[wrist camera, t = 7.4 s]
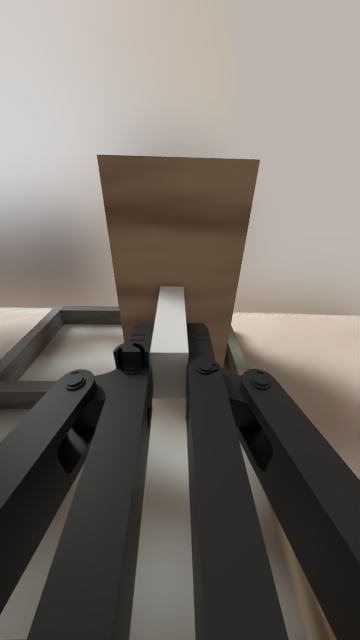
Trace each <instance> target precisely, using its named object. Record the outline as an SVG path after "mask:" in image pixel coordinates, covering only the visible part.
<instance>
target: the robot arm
mask: <svg viewBox="0 0 360 640" xmlns="http://www.w3.org/2000/svg"><path fill="white" fill-rule="evenodd" d="M113 355H114V360H115V365H116V369H115V370H113V371H111V372H108V373H105V374H101V375H97V376H94V375H93V373H92V372H91V371H89V370H86V369H78V370H74V371H71V372H69V373H67V374H65V375H64V376H62V377H61V378H60V379H59V380H58V381H57V382H56V383H55V384H54V385H53V386H52V387H51V388H50V390H49V391H48V392H47V393H46V394H45V395H44V396H43V397H42V398H41V399H40V400H39V401H38V402H37V403H36V405H35V406H34V407H33V408H32V409H31V410H30V411H29V412H28V413H27V414H26V415H25V416H24V417H23V418H22V419H21V421H20V422H19V423H18V424H17V425H16V426H15V427H14V428H13V429H12V430H11V431H10V432H9V433H8V434H7V436H6V437H5V438H4V439H3V440H2V441H1V442H0V615H1V613H2V611H3V609H4V607H5V606H6V604H7V602H8V600H9V598H10V597H11V595H12V593H13V591H14V589H15V588H16V586H17V584H18V582H19V580H20V579H21V577H22V575H23V573H24V571H25V570H26V568H27V566H28V564H29V562H30V561H31V559H32V557H33V555H34V553H35V551H36V550H37V548H38V546H39V544H40V542H41V541H42V539H43V537H44V535H45V533H46V532H47V530H48V528H49V526H50V524H51V523H52V521H53V519H54V517H55V515H56V514H57V512H58V510H59V508H60V506H61V505H62V503H63V501H64V499H65V497H66V495H67V494H68V492H69V490H70V488H71V486H72V485H73V483H74V481H75V479H76V477H77V476H78V474H79V472H80V470H81V468H82V467H83V465H84V467H83V470H82V473H81V476H80V479H79V482H78V485H77V488H76V491H75V494H74V497H73V500H72V503H71V506H70V509H69V512H68V515H67V518H66V521H65V524H64V527H63V530H62V533H61V536H60V540H59V543H58V546H57V549H56V552H55V555H54V558H53V561H52V564H51V567H50V570H49V573H48V576H47V579H46V582H45V585H44V588H43V591H42V594H41V597H40V600H39V603H38V606H37V609H36V612H35V615H34V619H33V622H32V625H31V628H30V631H29V634H28V637H27V640H129V636H130V626H131V616H132V607H133V597H134V587H135V577H136V567H137V557H138V548H139V538H140V528H141V518H142V508H143V498H144V488H145V479H146V469H147V459H148V449H149V439H150V429H151V420H152V397H153V398H166V399H186V414H185V420H186V427H187V450H188V474H189V498H190V521H191V545H192V569H193V593H194V616H195V640H289V639H288V635H287V631H286V627H285V622H284V618H283V614H282V610H281V606H280V602H279V598H278V594H277V590H276V586H275V582H274V578H273V574H272V570H271V566H270V562H269V558H268V554H267V550H266V546H265V542H264V538H263V534H262V530H261V526H260V522H259V518H258V514H257V510H256V506H255V502H254V498H253V494H252V490H251V486H250V482H249V478H248V474H247V470H246V466H245V462H244V458H243V454H242V450H241V446H240V443H241V445H242V447H243V449H244V451H245V453H246V455H247V458H248V460H249V462H250V464H251V466H252V468H253V470H254V472H255V474H256V476H257V478H258V480H259V482H260V484H261V486H262V488H263V490H264V492H265V494H266V496H267V498H268V500H269V502H270V504H271V507H272V509H273V511H274V513H275V515H276V517H277V519H278V521H279V523H280V525H281V527H282V529H283V531H284V533H285V535H286V537H287V539H288V541H289V543H290V545H291V547H292V549H293V551H294V553H295V556H296V558H297V560H298V562H299V564H300V566H301V568H302V570H303V572H304V574H305V576H306V578H307V580H308V582H309V584H310V586H311V588H312V590H313V592H314V594H315V596H316V598H317V600H318V602H319V605H320V607H321V609H322V611H323V613H324V615H325V617H326V619H327V621H328V623H329V625H330V627H331V629H332V631H333V633H334V635H335V637H336V639H337V640H360V480H359V479H358V478H357V476H356V475H355V474H354V473H353V472H352V470H351V469H350V468H349V467H348V466H347V464H346V463H345V462H344V461H343V460H342V458H341V457H340V456H339V455H338V454H337V452H336V451H335V450H334V449H333V448H332V446H331V445H330V444H329V443H328V442H327V440H326V439H325V438H324V437H323V436H322V434H321V433H320V432H319V431H318V430H317V428H316V427H315V426H314V425H313V424H312V422H311V421H310V420H309V419H308V418H307V416H306V415H305V414H304V413H303V412H302V410H301V409H300V408H299V407H298V406H297V404H296V403H295V402H294V401H293V400H292V399H291V397H290V396H289V395H288V394H287V393H286V391H285V390H284V389H283V388H282V387H281V385H280V384H279V383H278V382H277V381H276V379H275V378H274V377H273V376H271V375H270V374H269V373H267V372H265V371H262V370H258V369H250V370H247V371H245V372H244V373H243V374H242V375H238V374H234V373H230V372H227V371H225V370H224V369H222V368H221V367H220V365H219V363H217V362H216V360H215V356H214V352H213V347H212V343H211V339H210V334H209V330H208V328H207V327H206V326H205V325H204V323H186V313H185V300H184V288H183V287H175V286H160V292H159V298H158V305H157V311H156V317H155V323H138V324H137V325H136V326H135V327H134V328H133V330H132V333H131V337H130V341H129V342H125V343H123V344H120V345H119V346H117V347H116V348H115V350H114V351H113ZM239 441H240V442H239ZM84 463H85V464H84Z"/></svg>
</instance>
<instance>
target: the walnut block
mask: <svg viewBox="0 0 360 640" xmlns="http://www.w3.org/2000/svg"><path fill="white" fill-rule="evenodd" d="M97 159H98V166H99V173H100V179H101V186H102V193H103V199H104V207H105V213H106V221H107V227H108V234H109V241H110V248H111V255H112V262H113V269H114V276H115V282H116V290H117V296H118V303H119V310H120V317H121V324H122V331H123V338H124V343H125V342H129V341H130V337H131V333H132V330H133V328H134V327H135V326H136V325H137V324H138V323H155V317H156V311H157V305H158V298H159V292H160V286H175V287H183V288H184V300H185V313H186V323H204V325H205V326H206V327H207V328H208V330H209V334H210V339H211V343H212V347H213V352H214V356H215V360H216V362H217V363H219V365H220V367H221V368H222V369H223V365H224V360H225V354H226V348H227V343H228V337H229V332H230V326H231V320H232V315H233V309H234V303H235V298H236V291H237V286H238V281H239V274H240V269H241V264H242V257H243V252H244V247H245V241H246V235H247V230H248V224H249V218H250V213H251V207H252V201H253V195H254V190H255V184H256V178H257V173H258V167H259V162H260V160H254V159H251V160H250V159H221V158H188V157H153V156H120V155H97Z"/></svg>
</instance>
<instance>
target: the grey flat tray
mask: <svg viewBox="0 0 360 640" xmlns="http://www.w3.org/2000/svg"><path fill="white" fill-rule="evenodd" d="M123 343H124V338H123V331H122V324H121V317H120V310H119V307H87V306H83V307H82V306H55V307H54V308H53V309H52V310H51V311H50V312H49V313H48V314H47V315H46V316H45V317H44V318H43V319H42V320H41V321H40V322H39V323H38V324H37V325H36V326H35V327H34V328H33V329H32V330H31V331H30V332H29V333H28V334H27V335H26V336H24V337H23V338H22V339H21V340H20V341H19V342H18V343H17V344H16V345H15V346H14V347H13V348H12V349H11V350H10V351H9V352H8V353H7V354H6V355H5V356H4V357H3V358H2V359H1V360H0V442H1V441H2V440H3V439H4V438H5V437H6V436H7V434H8V433H9V432H10V431H11V430H12V429H13V428H14V427H15V426H16V425H17V424H18V423H19V422H20V421H21V419H22V418H23V417H24V416H25V415H26V414H27V413H28V412H29V411H30V410H31V409H32V408H33V407H34V406H35V405H36V403H37V402H38V401H39V400H40V399H41V398H42V397H43V396H44V395H45V394H46V393H47V392H48V391H49V390H50V388H51V387H52V386H53V385H54V384H55V383H56V382H57V381H58V380H59V379H60V378H61V377H62V376H64V375H65V374H67V373H69V372H71V371H74V370H78V369H86V370H89V371H91V372H92V373H93V375H94V376H97V375H101V374H105V373H108V372H111V371H113V370H115V369H116V365H115V360H114V355H113V351H114V350H115V348H116V347H117V346H119V345H120V344H123ZM223 369H224V370H225V371H227V372H230V373H234V374H238V375H242V374H243V373H244V372H245V371H247V370H249V368H248V365H247V363H246V360H245V358H244V356H243V353H242V351H241V348H240V346H239V343H238V341H237V338H236V336H235V334H234V331H233V329H232V326H230V332H229V337H228V343H227V348H226V354H225V360H224V365H223ZM185 414H186V399H166V398H153V397H152V420H151V429H150V439H149V449H148V459H147V469H146V479H145V488H144V498H143V508H142V518H141V528H140V538H139V548H138V557H137V567H136V577H135V587H134V597H133V607H132V616H131V626H130V636H129V640H195V616H194V593H193V569H192V545H191V521H190V498H189V474H188V450H187V427H186V420H185ZM239 442H240V441H239ZM240 446H241V450H242V454H243V458H244V462H245V466H246V470H247V474H248V478H249V482H250V486H251V490H252V494H253V498H254V502H255V506H256V510H257V514H258V518H259V522H260V526H261V530H262V534H263V538H264V542H265V546H266V550H267V554H268V558H269V562H270V566H271V570H272V574H273V578H274V582H275V586H276V590H277V594H278V598H279V602H280V606H281V610H282V614H283V618H284V622H285V627H286V631H287V635H288V639H289V640H337V639H336V637H335V635H334V633H333V631H332V629H331V627H330V625H329V623H328V621H327V619H326V617H325V615H324V613H323V611H322V609H321V607H320V605H319V602H318V600H317V598H316V596H315V594H314V592H313V590H312V588H311V586H310V584H309V582H308V580H307V578H306V576H305V574H304V572H303V570H302V568H301V566H300V564H299V562H298V560H297V558H296V556H295V553H294V551H293V549H292V547H291V545H290V543H289V541H288V539H287V537H286V535H285V533H284V531H283V529H282V527H281V525H280V523H279V521H278V519H277V517H276V515H275V513H274V511H273V509H272V507H271V504H270V502H269V500H268V498H267V496H266V494H265V492H264V490H263V488H262V486H261V484H260V482H259V480H258V478H257V476H256V474H255V472H254V470H253V468H252V466H251V464H250V462H249V460H248V458H247V455H246V453H245V451H244V449H243V447H242V445H241V443H240ZM84 464H85V463H84ZM83 467H84V465H83ZM83 467H82V468H81V470H80V472H79V474H78V476H77V477H76V479H75V481H74V483H73V485H72V486H71V488H70V490H69V492H68V494H67V495H66V497H65V499H64V501H63V503H62V505H61V506H60V508H59V510H58V512H57V514H56V515H55V517H54V519H53V521H52V523H51V524H50V526H49V528H48V530H47V532H46V533H45V535H44V537H43V539H42V541H41V542H40V544H39V546H38V548H37V550H36V551H35V553H34V555H33V557H32V559H31V561H30V562H29V564H28V566H27V568H26V570H25V571H24V573H23V575H22V577H21V579H20V580H19V582H18V584H17V586H16V588H15V589H14V591H13V593H12V595H11V597H10V598H9V600H8V602H7V604H6V606H5V607H4V609H3V611H2V613H1V615H0V640H27V637H28V634H29V631H30V628H31V625H32V622H33V619H34V615H35V612H36V609H37V606H38V603H39V600H40V597H41V594H42V591H43V588H44V585H45V582H46V579H47V576H48V573H49V570H50V567H51V564H52V561H53V558H54V555H55V552H56V549H57V546H58V543H59V540H60V536H61V533H62V530H63V527H64V524H65V521H66V518H67V515H68V512H69V509H70V506H71V503H72V500H73V497H74V494H75V491H76V488H77V485H78V482H79V479H80V476H81V473H82V470H83Z"/></svg>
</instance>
